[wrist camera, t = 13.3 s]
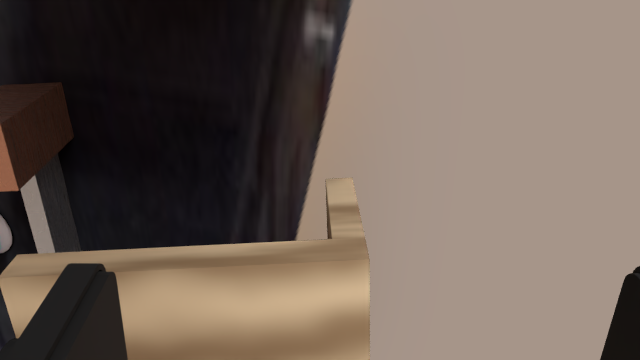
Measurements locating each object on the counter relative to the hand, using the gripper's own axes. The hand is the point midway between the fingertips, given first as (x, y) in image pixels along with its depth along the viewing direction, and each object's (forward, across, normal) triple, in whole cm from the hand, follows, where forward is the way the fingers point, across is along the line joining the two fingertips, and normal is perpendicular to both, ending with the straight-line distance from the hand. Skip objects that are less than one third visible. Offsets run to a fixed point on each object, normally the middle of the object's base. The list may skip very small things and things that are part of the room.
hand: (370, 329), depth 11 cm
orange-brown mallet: (+31, +19, +14) cm, 39 cm away
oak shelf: (+31, +7, +17) cm, 36 cm away
